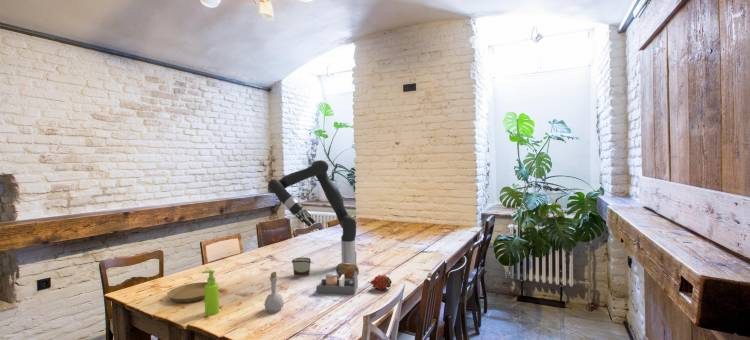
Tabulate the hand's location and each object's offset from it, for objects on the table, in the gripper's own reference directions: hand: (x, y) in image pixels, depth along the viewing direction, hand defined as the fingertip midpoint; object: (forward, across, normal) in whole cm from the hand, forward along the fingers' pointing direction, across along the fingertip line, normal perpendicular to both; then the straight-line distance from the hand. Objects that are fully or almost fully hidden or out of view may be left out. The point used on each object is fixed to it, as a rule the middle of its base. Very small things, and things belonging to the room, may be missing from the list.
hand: (312, 224), depth 211 cm
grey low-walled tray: (+37, -19, +10) cm, 42 cm away
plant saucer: (-18, -31, +63) cm, 73 cm away
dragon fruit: (+53, -16, -6) cm, 56 cm away
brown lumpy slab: (+38, +3, +9) cm, 39 cm away
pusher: (+37, -19, +8) cm, 42 cm away
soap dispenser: (-2, -51, +48) cm, 70 cm away
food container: (+17, +6, +29) cm, 34 cm away
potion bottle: (+18, -46, +28) cm, 56 cm away
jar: (+33, -19, +12) cm, 40 cm away
